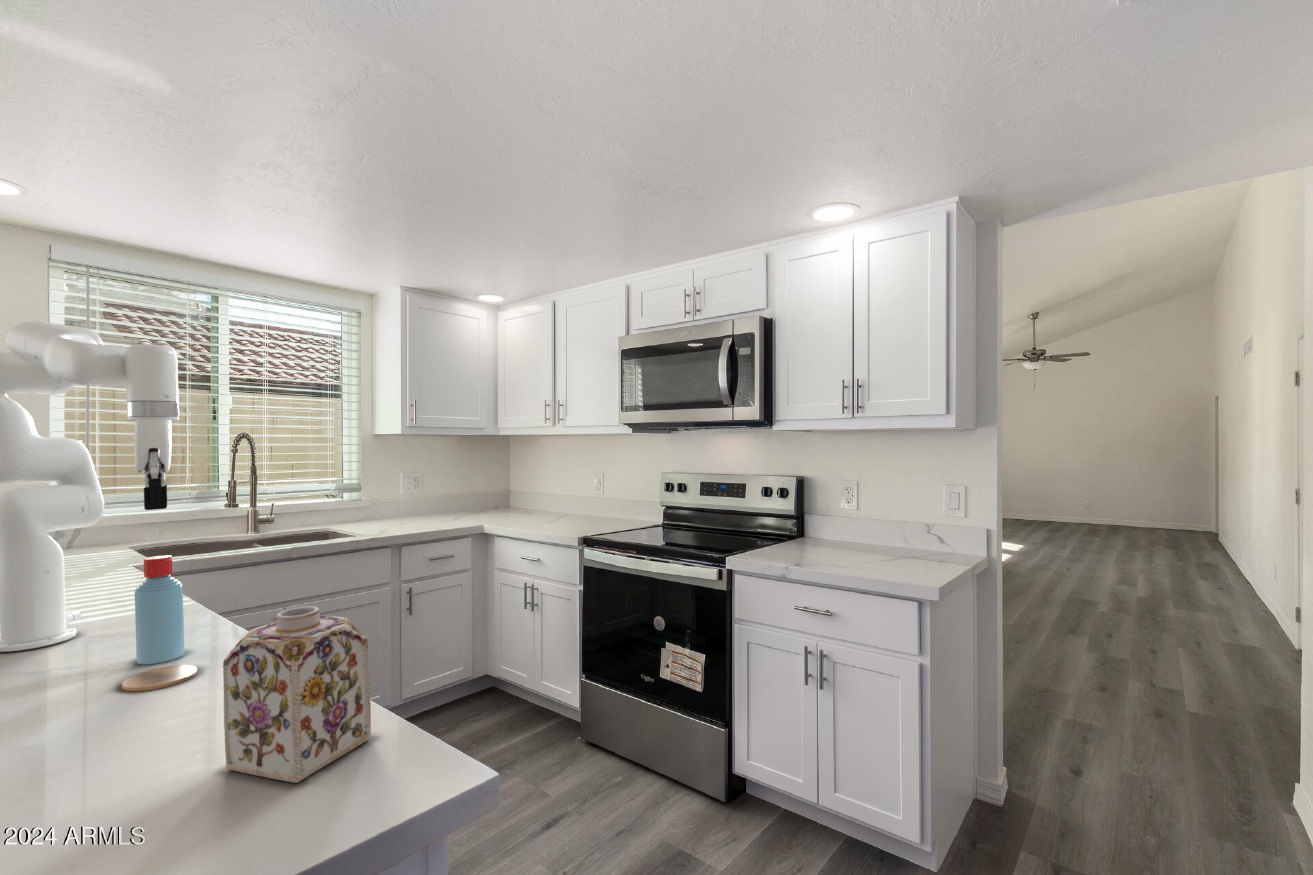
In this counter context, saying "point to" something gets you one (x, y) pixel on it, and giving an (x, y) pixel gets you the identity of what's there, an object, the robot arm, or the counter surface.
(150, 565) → the cap
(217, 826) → the counter surface
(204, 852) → the counter surface
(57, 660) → the counter surface
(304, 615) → the decorative jar
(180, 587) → the bottle
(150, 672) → the coaster
